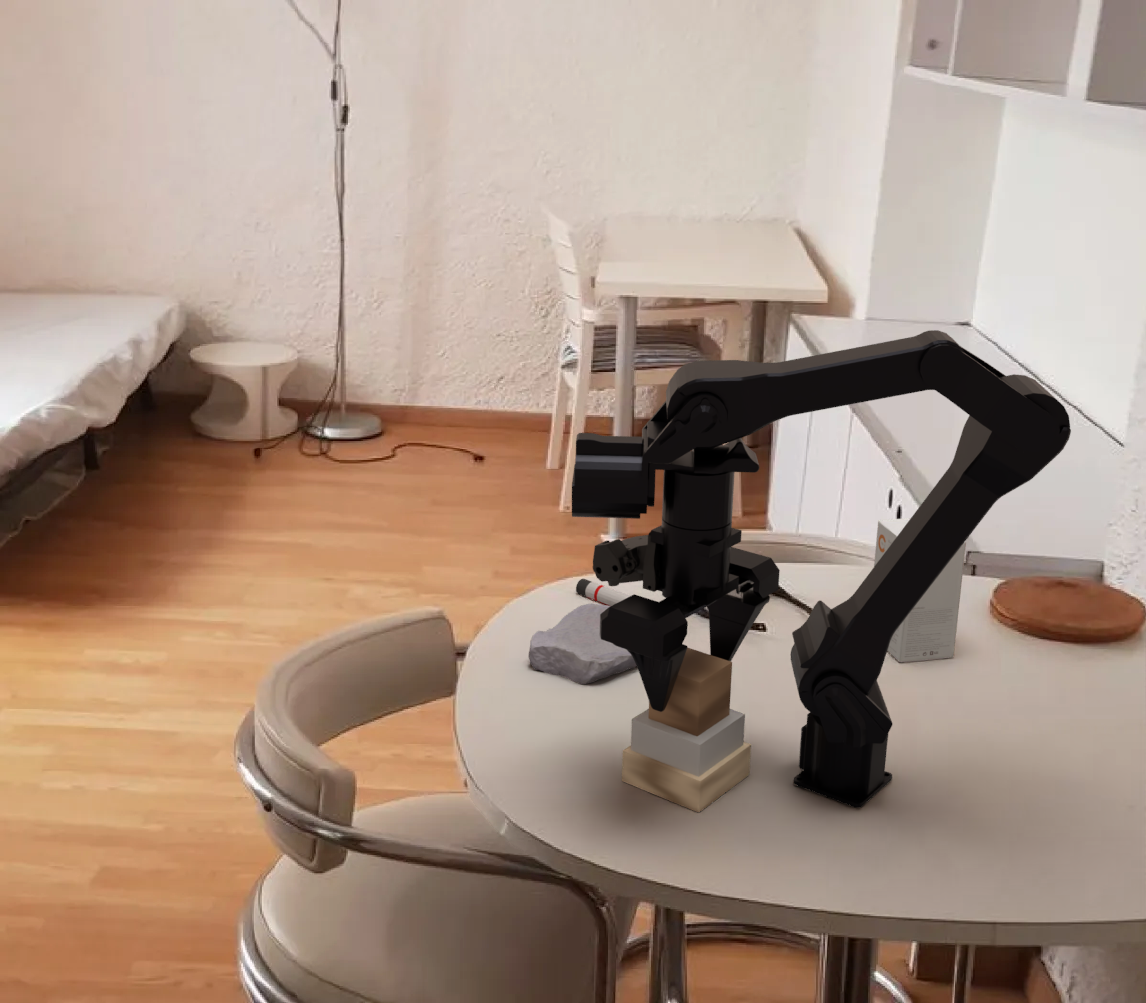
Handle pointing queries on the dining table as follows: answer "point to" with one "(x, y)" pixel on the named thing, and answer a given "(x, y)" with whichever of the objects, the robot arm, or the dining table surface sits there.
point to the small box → (926, 606)
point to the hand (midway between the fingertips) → (688, 690)
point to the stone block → (578, 648)
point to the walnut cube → (698, 694)
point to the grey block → (687, 742)
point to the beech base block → (686, 778)
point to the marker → (599, 592)
